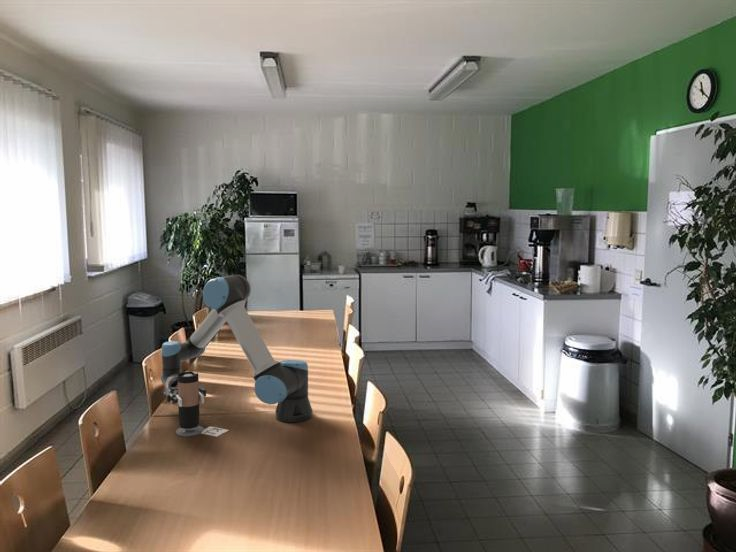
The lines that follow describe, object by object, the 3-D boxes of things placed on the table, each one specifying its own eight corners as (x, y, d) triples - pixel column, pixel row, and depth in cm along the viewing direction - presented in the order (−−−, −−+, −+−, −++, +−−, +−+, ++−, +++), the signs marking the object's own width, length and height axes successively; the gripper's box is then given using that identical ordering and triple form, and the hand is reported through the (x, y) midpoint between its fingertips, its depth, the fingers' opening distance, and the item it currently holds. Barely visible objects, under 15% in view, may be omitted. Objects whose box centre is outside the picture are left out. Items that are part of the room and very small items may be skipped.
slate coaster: (209, 429, 227) (209, 427, 226) (190, 438, 218) (190, 436, 218) (189, 425, 231) (189, 423, 231) (170, 433, 222) (170, 432, 222)
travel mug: (178, 430, 219) (176, 377, 217) (179, 422, 227) (177, 372, 224) (199, 428, 221) (198, 376, 219) (200, 421, 229) (198, 370, 226)
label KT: (228, 430, 225) (228, 430, 225) (216, 436, 219) (216, 436, 219) (210, 426, 229) (210, 426, 229) (197, 432, 223) (197, 432, 223)
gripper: (202, 390, 244) (219, 406, 224) (151, 398, 233) (164, 416, 214) (202, 372, 243) (218, 387, 223) (151, 379, 233) (163, 395, 213)
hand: (192, 401), depth 219 cm, fingers closed on travel mug, 7 cm apart
